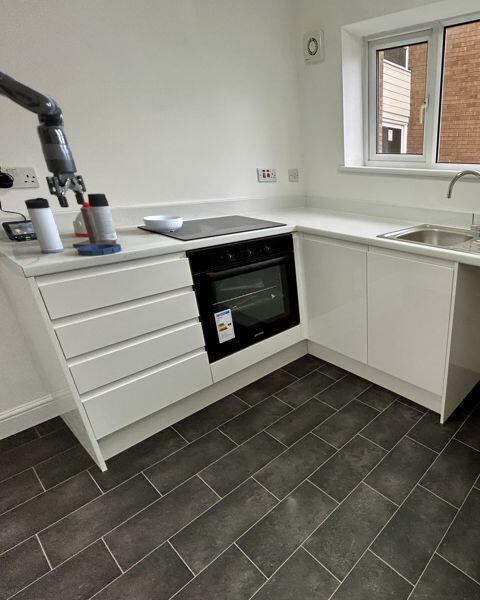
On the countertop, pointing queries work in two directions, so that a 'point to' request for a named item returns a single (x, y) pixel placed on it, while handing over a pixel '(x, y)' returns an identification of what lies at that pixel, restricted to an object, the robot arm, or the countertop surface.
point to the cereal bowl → (163, 223)
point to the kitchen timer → (81, 224)
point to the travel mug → (44, 225)
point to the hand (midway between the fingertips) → (73, 205)
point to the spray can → (102, 217)
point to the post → (90, 230)
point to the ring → (99, 249)
